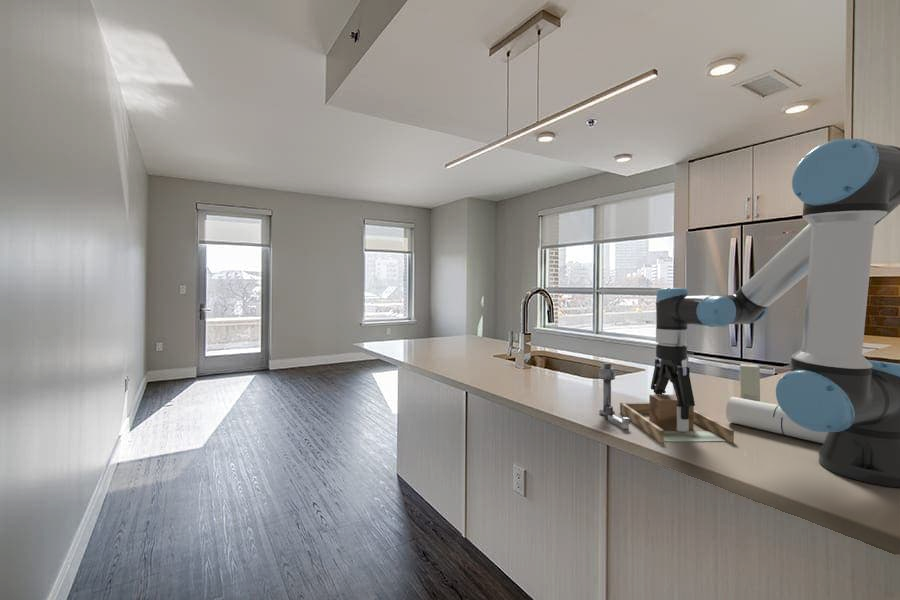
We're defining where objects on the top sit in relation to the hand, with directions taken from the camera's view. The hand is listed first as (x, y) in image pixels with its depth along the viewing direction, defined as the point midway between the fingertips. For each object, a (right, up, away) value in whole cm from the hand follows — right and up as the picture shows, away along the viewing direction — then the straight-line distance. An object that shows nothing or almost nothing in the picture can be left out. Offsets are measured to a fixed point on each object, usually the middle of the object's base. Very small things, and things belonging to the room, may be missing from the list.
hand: (670, 423), depth 116 cm
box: (+35, 0, +19) cm, 40 cm away
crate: (0, -1, 0) cm, 1 cm away
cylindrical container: (+18, +3, +3) cm, 19 cm away
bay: (0, -1, 0) cm, 1 cm away
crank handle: (-14, -1, +2) cm, 14 cm away
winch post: (-13, 0, +11) cm, 17 cm away
